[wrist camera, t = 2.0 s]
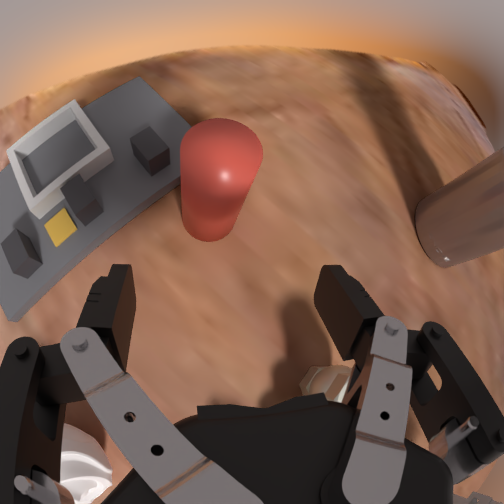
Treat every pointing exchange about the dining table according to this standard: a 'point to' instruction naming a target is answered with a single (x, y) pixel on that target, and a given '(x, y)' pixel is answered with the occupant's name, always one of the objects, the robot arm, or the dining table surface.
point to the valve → (326, 381)
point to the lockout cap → (216, 175)
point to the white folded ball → (83, 465)
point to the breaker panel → (105, 185)
